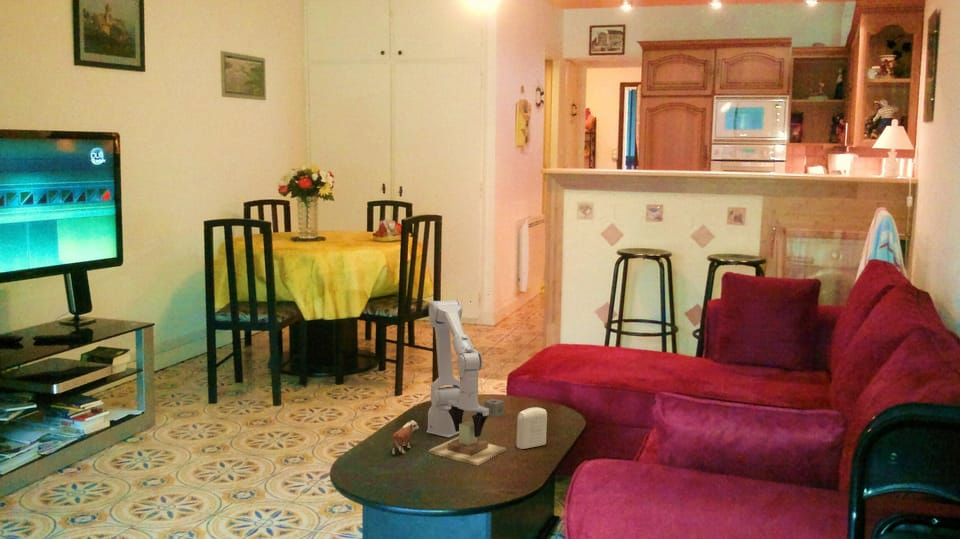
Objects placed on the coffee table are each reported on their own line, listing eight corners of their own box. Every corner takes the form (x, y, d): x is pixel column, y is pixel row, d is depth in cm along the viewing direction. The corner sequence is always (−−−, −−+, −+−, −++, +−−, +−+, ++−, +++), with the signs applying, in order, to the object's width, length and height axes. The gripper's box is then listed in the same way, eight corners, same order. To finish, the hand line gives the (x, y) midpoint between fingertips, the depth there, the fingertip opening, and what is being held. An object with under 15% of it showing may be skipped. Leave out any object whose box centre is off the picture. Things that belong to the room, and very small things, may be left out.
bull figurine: (420, 444, 275) (421, 419, 274) (399, 457, 263) (399, 431, 262) (408, 442, 277) (409, 417, 276) (387, 455, 265) (387, 429, 264)
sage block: (458, 442, 268) (459, 423, 267) (467, 439, 271) (467, 421, 271) (468, 445, 266) (469, 426, 265) (477, 442, 269) (477, 423, 268)
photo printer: (540, 441, 280) (541, 404, 279) (548, 445, 277) (549, 407, 275) (514, 446, 275) (515, 408, 273) (522, 450, 271) (523, 412, 270)
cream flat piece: (428, 453, 267) (428, 443, 267) (458, 439, 280) (458, 430, 280) (477, 465, 257) (477, 455, 257) (505, 450, 271) (506, 441, 270)
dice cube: (484, 415, 307) (484, 401, 306) (491, 412, 311) (492, 398, 311) (495, 418, 304) (496, 404, 304) (503, 414, 308) (504, 401, 308)
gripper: (495, 392, 265) (494, 435, 267) (458, 384, 274) (458, 425, 276) (481, 397, 259) (480, 441, 261) (444, 388, 268) (443, 430, 270)
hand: (467, 433), depth 268 cm, fingers open, 7 cm apart
